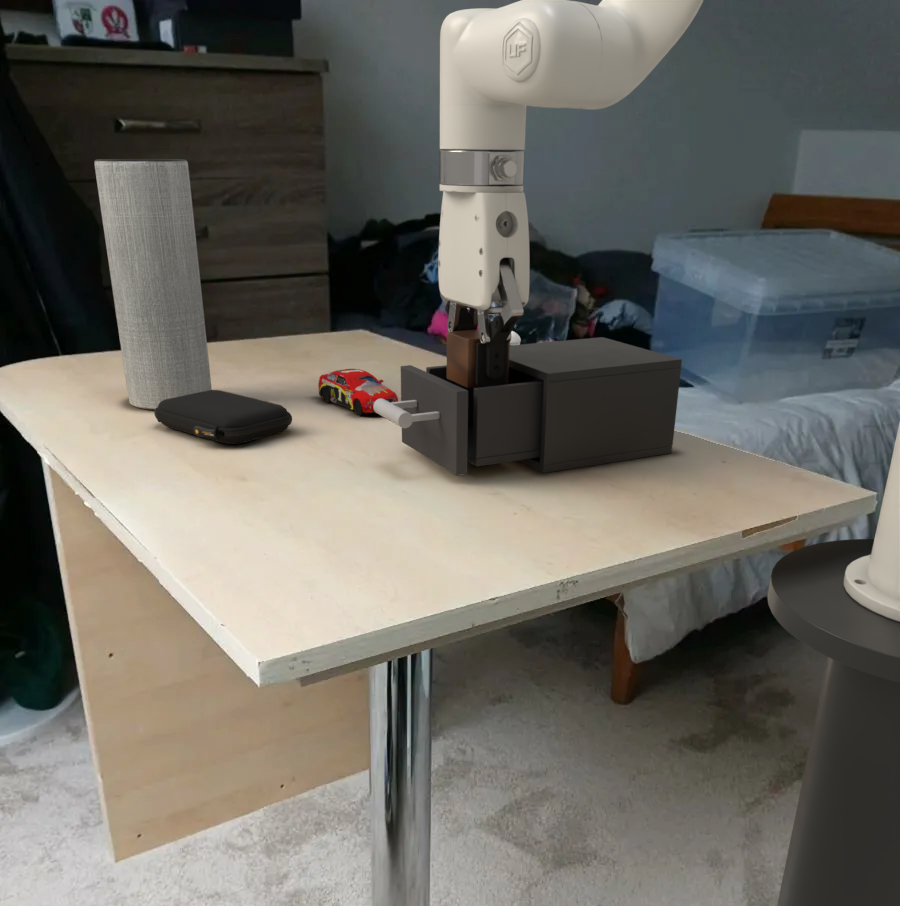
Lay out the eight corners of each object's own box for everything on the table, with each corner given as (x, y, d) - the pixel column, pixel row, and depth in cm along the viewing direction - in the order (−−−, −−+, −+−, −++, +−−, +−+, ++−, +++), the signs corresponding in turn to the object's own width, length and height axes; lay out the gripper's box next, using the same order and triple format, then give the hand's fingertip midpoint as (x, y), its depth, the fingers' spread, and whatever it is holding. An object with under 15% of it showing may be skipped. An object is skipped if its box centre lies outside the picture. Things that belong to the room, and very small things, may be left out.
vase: (223, 404, 115) (198, 160, 103) (139, 414, 110) (103, 160, 99) (199, 388, 123) (174, 159, 111) (121, 397, 118) (85, 159, 106)
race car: (405, 414, 111) (405, 380, 110) (366, 420, 109) (365, 386, 107) (351, 391, 121) (350, 360, 119) (313, 397, 118) (311, 365, 117)
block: (508, 383, 91) (510, 336, 89) (467, 388, 89) (468, 339, 87) (486, 374, 94) (487, 328, 92) (446, 378, 92) (446, 331, 91)
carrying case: (139, 428, 105) (222, 453, 96) (136, 401, 104) (219, 424, 95) (217, 410, 112) (301, 432, 104) (214, 384, 111) (299, 404, 102)
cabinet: (543, 473, 91) (548, 373, 87) (477, 438, 102) (478, 348, 98) (671, 453, 97) (682, 359, 93) (596, 422, 108) (602, 337, 104)
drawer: (413, 482, 86) (412, 396, 82) (362, 447, 96) (359, 369, 92) (586, 455, 93) (591, 376, 90) (522, 426, 103) (525, 353, 100)
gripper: (569, 176, 78) (557, 394, 86) (474, 171, 92) (471, 360, 100) (490, 176, 75) (485, 402, 83) (404, 171, 89) (406, 366, 97)
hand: (477, 377), depth 91 cm, fingers closed on block, 4 cm apart
